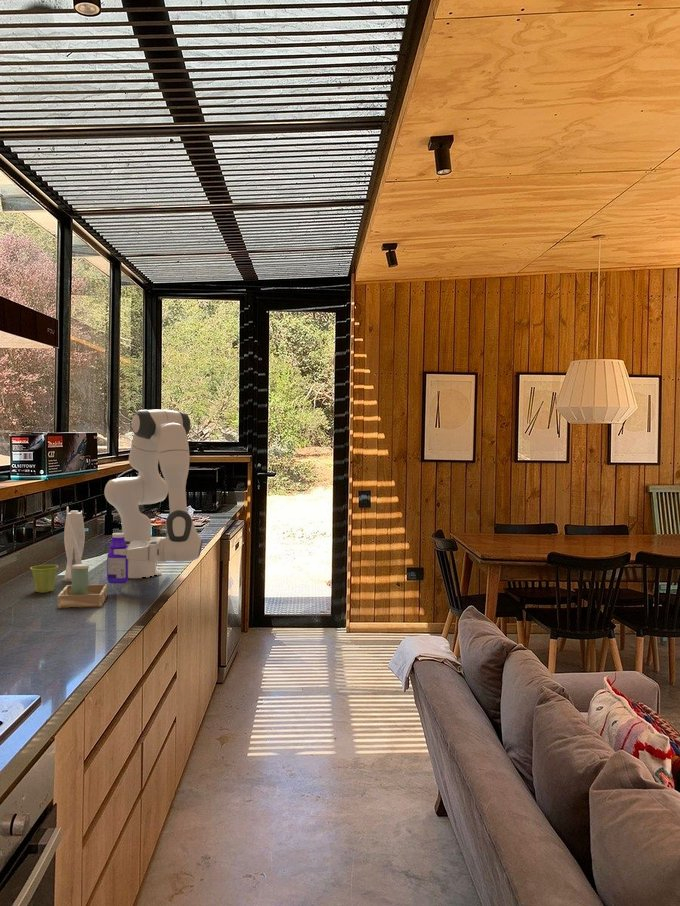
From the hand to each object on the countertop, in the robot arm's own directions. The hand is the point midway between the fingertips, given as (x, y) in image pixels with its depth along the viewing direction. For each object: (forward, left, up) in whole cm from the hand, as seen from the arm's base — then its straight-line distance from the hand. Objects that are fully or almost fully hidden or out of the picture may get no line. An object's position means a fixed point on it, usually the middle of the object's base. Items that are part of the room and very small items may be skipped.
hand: (115, 549), depth 274 cm
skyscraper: (-29, -18, -16) cm, 37 cm away
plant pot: (-8, -25, -16) cm, 30 cm away
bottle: (0, +1, -12) cm, 12 cm away
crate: (+12, -9, -15) cm, 22 cm away
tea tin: (+16, -10, -15) cm, 24 cm away
